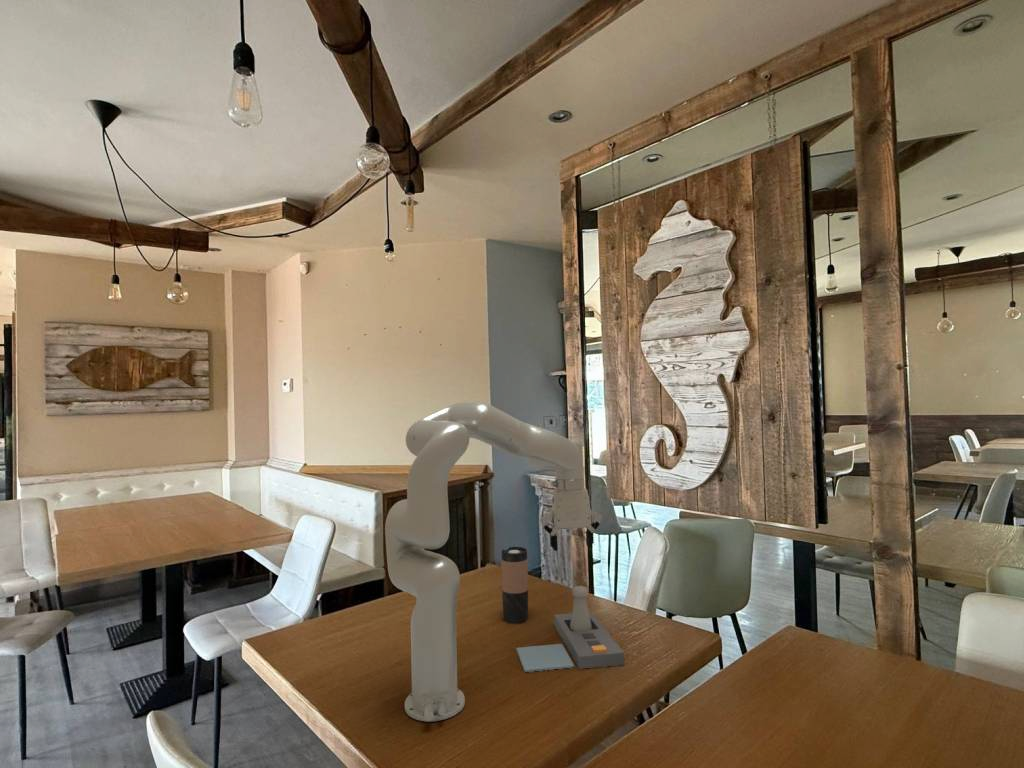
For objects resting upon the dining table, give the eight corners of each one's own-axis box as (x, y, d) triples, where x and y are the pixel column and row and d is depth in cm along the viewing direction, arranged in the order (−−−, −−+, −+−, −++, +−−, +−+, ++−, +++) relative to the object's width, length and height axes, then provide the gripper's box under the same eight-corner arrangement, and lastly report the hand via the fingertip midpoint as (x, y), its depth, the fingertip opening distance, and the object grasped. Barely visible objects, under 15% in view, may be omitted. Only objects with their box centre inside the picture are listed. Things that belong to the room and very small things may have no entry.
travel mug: (528, 624, 158) (527, 553, 159) (502, 624, 159) (500, 553, 159) (528, 613, 166) (527, 546, 167) (503, 613, 166) (501, 546, 167)
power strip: (623, 665, 133) (623, 649, 133) (579, 669, 131) (579, 653, 131) (592, 622, 159) (591, 608, 159) (554, 625, 157) (554, 612, 157)
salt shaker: (591, 641, 146) (589, 591, 147) (569, 639, 148) (568, 590, 148) (592, 632, 152) (591, 584, 153) (571, 630, 153) (570, 583, 154)
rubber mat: (574, 668, 132) (574, 665, 132) (524, 672, 130) (524, 670, 130) (562, 646, 144) (562, 643, 144) (516, 650, 142) (516, 647, 142)
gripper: (541, 488, 145) (544, 554, 145) (605, 485, 148) (607, 549, 148) (535, 484, 153) (538, 546, 153) (596, 480, 156) (598, 541, 155)
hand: (572, 547), depth 150 cm, fingers open, 9 cm apart
